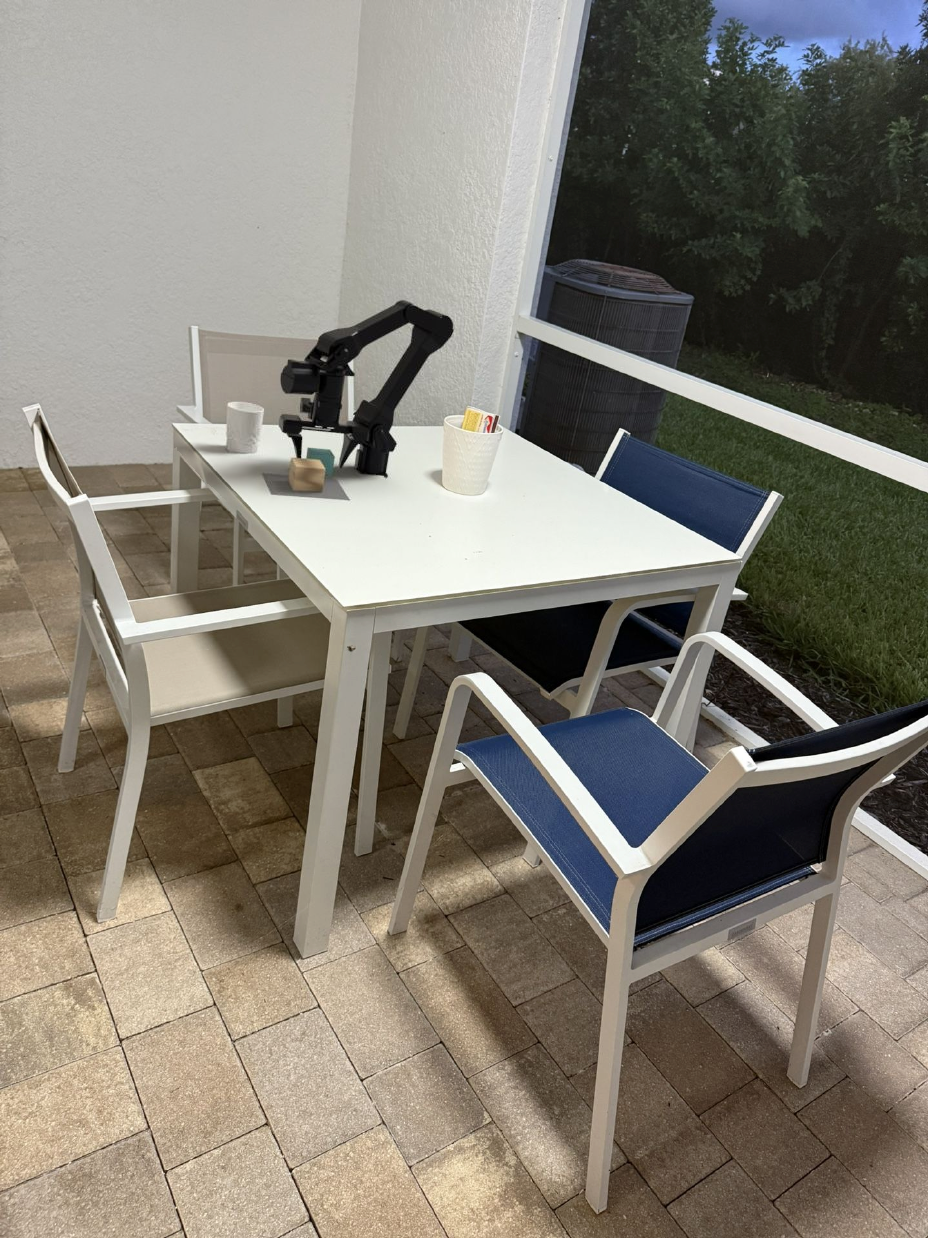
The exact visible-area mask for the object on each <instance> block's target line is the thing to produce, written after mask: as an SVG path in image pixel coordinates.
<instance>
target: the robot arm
mask: <svg viewBox="0 0 928 1238" xmlns="http://www.w3.org/2000/svg"><path fill="white" fill-rule="evenodd" d="M408 324H410V325H412V326H413V327H412V329H411V337H410V343H409V345H408V346H407V348H406V349H405V352H403V355H402V356H401V357H400V359H399V360H398V363H397V364H396V366H395V367H394V368H393V370H392V371H391V373H390V374H389V377H388V378H387V379H386V381H385V383H384V384H383V386H382V387H381V389H380V391H379V392H378V394H377V395H376V397H375V398H373V399H371V400H370V401H368V400H366V399H362V401H361V402H360V404H359V406H358V408H357V409H356V411H354V412H353V414H352V415H353V416H354V417H353V419H352V420H347V422H346V423H345V424H340V417H341V410H342V408H343V403H342V402H343V401H342V400H343V395H344V387H345V379H346V377H355V376H356V373H355V372H354V371H353V370H352V368H351V367H350V365H349V363H351V362H352V361H353V360H354V359H356V358H357V357H358V356H359V355H360V354H361V352H362V350H364V348H366V347H367V346H368V345H370V344H372V343H374V342H376V341H377V340H379V339H381V338H384V337H385V336H387V335H389V334H391V333H393V332H394V331H397V330H398V329H400V328H402V327H404V326H406V325H408ZM454 329H455V328H454V323H453V320H452V318H451V317H450V316H449V315H447V314H443V313H440V312H438V311H437V310H436V311H435V310H433V309H429V308H428V309H423V308H421V307H419V306H417V305H416V304H415V303H413V302H410V301H407V300H405V299H400V300H398V301H396V302H395V303H394V304H393V305H391V306H389V307H387V308H385V309H384V310H381V311H380V312H377V313H375V314H374V315H372V316H370V317H368V318H366V319H364V320H362V321H361V322H359V323H356V324H355V325H352V326H348V327H343V328H341V327H339V328H335V329H333V330H329V331H326V332H323V333H322V334H321V335H319V337H318V340H317V343H316V344H315V345H314V347H312V349H311V350H310V352H309V353H307V355H306V356H305V358H304V359H303V360H295V359H292V358H290V359H288V360H287V364H286V365H284V367H283V369H282V372H280V378H279V379H280V387H281V390H282V392H283V393H284V394H285V395H307V396H311V395H314V396H313V399H312V400H311V398H309V397H300V404H299V412H300V414H301V413H302V414H307V419H309V420H310V421H309V420H302V418H301V417H300V416H299V415H297V414H287V413H282V414H281V415H280V416H279V418H278V427H279V429H280V430H281V432H282V433H283V434H286V435H287V437H288V438H291V441H292V443H293V444H292V445H293V449H294V454H295V458H302V454H303V453H302V450H303V449H302V448H303V435H302V434H301V433H302V431H311V432H321V433H322V432H324V433H332V434H333V433H335V434H342V435H343V442H342V447H341V452H340V457H339V461H338V467H339V469H342V468H343V467H344V465H345V463H346V462H347V460H348V458H349V457H350V455H351V454H352V453H353V451H354V450H355V448H357V447H358V446H359V448H358V449H356V452H355V453H356V454H355V460H354V468H356V470H357V471H358V472H359V474H361V475H370V476H378V477H379V476H382V477H384V478H389V474H388V473H387V469H388V464H389V463H388V462H389V458H390V453H393V452H394V451H395V450H396V447H397V445H398V443H397V441H396V440H395V438H394V437H393V436H392V434H391V432H390V431H391V429H392V427H393V425H394V417H395V410H396V408H397V407H398V406H399V404H400V402H401V401H402V399H403V398H404V396H405V394H406V393H407V391H408V390H409V388H410V386H411V385H412V383H413V382H414V380H415V379H416V377H417V376H418V374H419V373H420V371H421V370H422V368H423V367H424V365H425V363H426V362H427V360H428V358H429V357H430V356H431V355H432V354H434V353H436V352H438V350H440V349H443V347H444V346H445V345H446V343H447V342H448V341H449V340H450V338H451V337H452V335H453V333H454ZM322 359H323V360H322Z"/></svg>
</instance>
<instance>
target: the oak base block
mask: <svg viewBox="0 0 928 1238" xmlns="http://www.w3.org/2000/svg"><path fill="white" fill-rule="evenodd" d="M325 470H326V469H325V467H324V466H323V464H322V463H321V461H320V460H315V459H306V458H304V457H303V458H302V457H301V458H296V457H290V464H289V472H288V475H289V480H288V481H289V482H290V484H291V486H292V488H293V490H297V491H310V492H323V485H324V478H326V476H325Z"/></svg>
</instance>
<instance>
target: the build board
mask: <svg viewBox="0 0 928 1238" xmlns="http://www.w3.org/2000/svg"><path fill="white" fill-rule="evenodd" d="M261 474H262V477H263V480H264V481H265V483H266V486H267V488H268V490H269V492H270V495H273V496H274V495H275V496H286V497H299V498H313V499H314V498H315V499H329V500H339V501H340V500H341V501H351V500H350V498H349V496H348V495H347V493H346V492H345V490H344V489H343V487H342V485H341V483H340V482H339V481H338V480H337V478H327V477H325V478H324V485H323V492H310V491H297V490H293V488H292V486H291V484H290V482H289V481H288V480H289V474H288V475H287V474H277V473H264V472H262V473H261Z"/></svg>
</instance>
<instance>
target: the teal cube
mask: <svg viewBox="0 0 928 1238" xmlns="http://www.w3.org/2000/svg"><path fill="white" fill-rule="evenodd" d="M335 458H336V456H335V454H334V453H333V452H332V450H331V449H329V448H316V447H307V450H306V456H305V459H315V460H320V461H321V463H322V464H323V466H324V467H325V469H326V470H325V477H333V475H334V474H333V473H334V465H335Z"/></svg>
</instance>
